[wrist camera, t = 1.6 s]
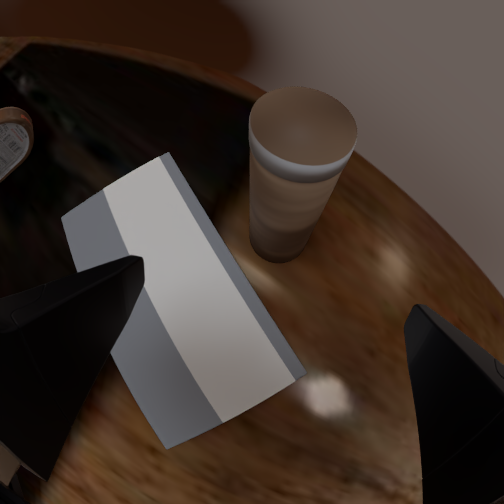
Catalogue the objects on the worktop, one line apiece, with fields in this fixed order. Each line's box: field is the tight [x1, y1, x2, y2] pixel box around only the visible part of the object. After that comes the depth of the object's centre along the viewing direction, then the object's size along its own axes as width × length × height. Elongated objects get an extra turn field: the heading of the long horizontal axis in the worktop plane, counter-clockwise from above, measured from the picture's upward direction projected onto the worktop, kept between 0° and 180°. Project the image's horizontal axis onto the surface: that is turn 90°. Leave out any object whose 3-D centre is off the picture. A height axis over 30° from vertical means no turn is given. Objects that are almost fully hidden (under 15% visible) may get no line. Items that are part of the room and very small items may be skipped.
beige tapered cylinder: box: [249, 87, 357, 263], centre depth 17 cm, size 5×5×13 cm
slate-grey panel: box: [61, 152, 307, 449], centre depth 22 cm, size 22×12×1 cm, turn 32°
